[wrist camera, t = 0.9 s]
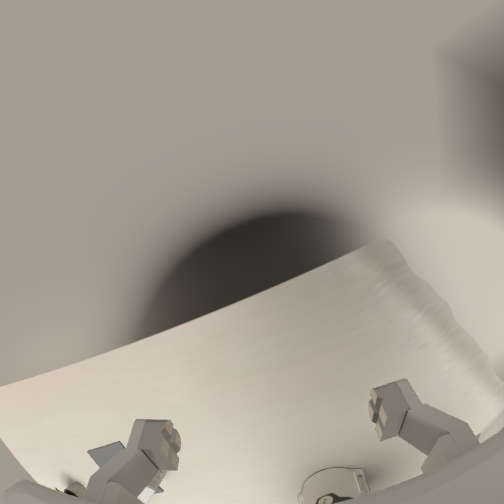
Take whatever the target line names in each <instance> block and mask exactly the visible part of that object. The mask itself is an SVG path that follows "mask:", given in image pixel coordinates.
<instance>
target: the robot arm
mask: <svg viewBox="0 0 504 504" xmlns="http://www.w3.org/2000/svg"><path fill="white" fill-rule="evenodd" d="M370 396H371V398H372V399H371V400H370V401H369V406H368V407H369V414H370V417H371V420H372V422H374V423H376V428H375V430H376V432H377V435H378V437H379V439H380V441H382V440H385V439H388V438H392V437H395V436H398V435H399V437H401V438H402V439H404V440H405V441H407V442H408V443H410V444H411V445H413V446H414V447H415V448H417V449H418V450H420V451H421V452H423V453H424V454H426V455H427V456H428V457H427V459H426V460H425V462H424V463H423V465H422V467H421V469H422V471H423V474H421V475H419V476H417V477H414V478H412V479H409V480H407V481H404V482H402V483H399V484H397V485H394V486H391V487H388V488H386V489H383V490H380V491H377V492H374V493H371V494H370V491H369V488H368V484H367V481H366V478H365V475H364V471H363V469H346V468H330V469H325V470H322V471H320V472H317V473H315V474H314V475H312V476H311V477H310V478H308V479H307V481H306V482H305V483H304V485H303V490H302V492H301V493H300V494H299V496H298V501H299V502H301V503H303V504H504V429H502V430H501V431H499V432H498V433H496V434H495V435H493V436H492V437H490V438H489V439H487V440H486V441H484V442H482V443H481V444H480V443H479V441H478V440H477V438H476V436H475V435H474V433H473V431H472V430H471V428H470V427H469V425H468V423H466V422H464V421H462V420H459V419H457V418H455V417H453V416H451V415H448V414H446V413H444V412H442V411H440V410H438V409H435V408H433V407H431V406H429V405H427V404H423V405H422V403H421V402H420V400H419V398H418V396H417V395H416V393H415V392H414V390H413V388H412V387H411V385H410V383H409V382H408V380H407V379H405V378H404V379H401V380H398V381H396V382H392V383H389V384H386V385H383V386H379V387H376V388H373V389H372V390H371V392H370ZM180 448H181V438H180V435H179V433H178V431H177V430H176V429H174V428H173V423H172V422H171V420H151V419H136V420H135V422H134V424H133V427H132V431H131V434H130V437H129V441H128V444H127V448H123V449H122V450H121V451H120V452H118V453H117V454H116V455H115V456H114V457H113V458H112V459H110V460H109V461H108V462H107V463H106V464H105V465H104V466H102V467H101V468H100V469H99V470H98V471H97V472H95V473H94V474H93V475H92V476H91V477H90V480H89V483H88V486H87V489H86V492H85V496H84V499H82V498H78V497H75V496H71V495H68V494H65V493H62V492H59V491H56V490H53V489H51V488H48V487H45V486H43V485H40V484H37V483H35V482H33V481H30V480H22V481H20V482H18V483H16V484H15V485H13V486H12V487H10V488H9V489H8V490H6V492H5V493H4V495H3V497H2V499H1V502H0V504H144V503H143V502H142V501H140V500H139V499H138V498H137V497H138V496H139V495H140V494H141V492H142V491H143V490H144V489H145V488H146V487H147V485H148V484H149V483H150V482H151V480H152V479H153V478H154V477H155V476H156V474H157V473H158V472H159V470H178V463H179V457H178V456H177V453H178V452H179V451H180ZM359 475H360V476H359Z"/></svg>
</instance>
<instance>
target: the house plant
mask: <svg viewBox="0 0 504 504" xmlns="http://www.w3.org/2000/svg"><path fill="white" fill-rule="evenodd" d="M55 489H56V490H57V488H55ZM57 491H59V490H57ZM64 491H65V492H64V493H65V494H68V495H71V496H75V497H78V498H82V499H83V498H84V496H85V492H86V489H85V487H84V486H82V485H81V484H79V483H75V484H73V485H71V486H70V487H68V488H66V489H65V490H64ZM60 492H61V491H60Z"/></svg>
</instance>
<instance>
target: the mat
mask: <svg viewBox="0 0 504 504" xmlns="http://www.w3.org/2000/svg"><path fill="white" fill-rule="evenodd" d="M123 448H125V447H124V446H123V445H122V444H121V442H120V441H119V442H116V443H113V444H110V445H107V446H103V447H100V448H97V449H93V450H90V451H87V452H88V454H89V455H90V456H91V457H92V459H93V460H94V461H95V462H96V463H97V465H98V466H99V467H100V468H101V467H102V466H104V465H105V464H106V463H107V462H108V461H109V460H110V459H112V458H113V457H114V456H115V455H116V454H117V453H118V452H120V451H121V450H122V449H123ZM160 492H163V490H162V489H161V488H160V487H159V486H158V488H157V489H156V491H155V493H160ZM155 493H154V494H155Z"/></svg>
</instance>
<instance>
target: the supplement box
mask: <svg viewBox="0 0 504 504" xmlns="http://www.w3.org/2000/svg"><path fill="white" fill-rule="evenodd" d="M166 472H167V470H159V472H158V473H157V474H156V476H155V477H154V478H153V479H152V480H151V482H150V483H149V484H148V485H147V487H146V488H145V489H144V490H143V491H142V492H141V494H140V495H139V496H138V497H137V498H139V499H141V500H142V501H144V502H146V503H148V501H149V500H150V499H151V497H152V496H153V494H154V493H155V491H156V489H157V488H158V486H159V484H160V483H161V481H162V479H163V477H164V476H165V474H166Z"/></svg>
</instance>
